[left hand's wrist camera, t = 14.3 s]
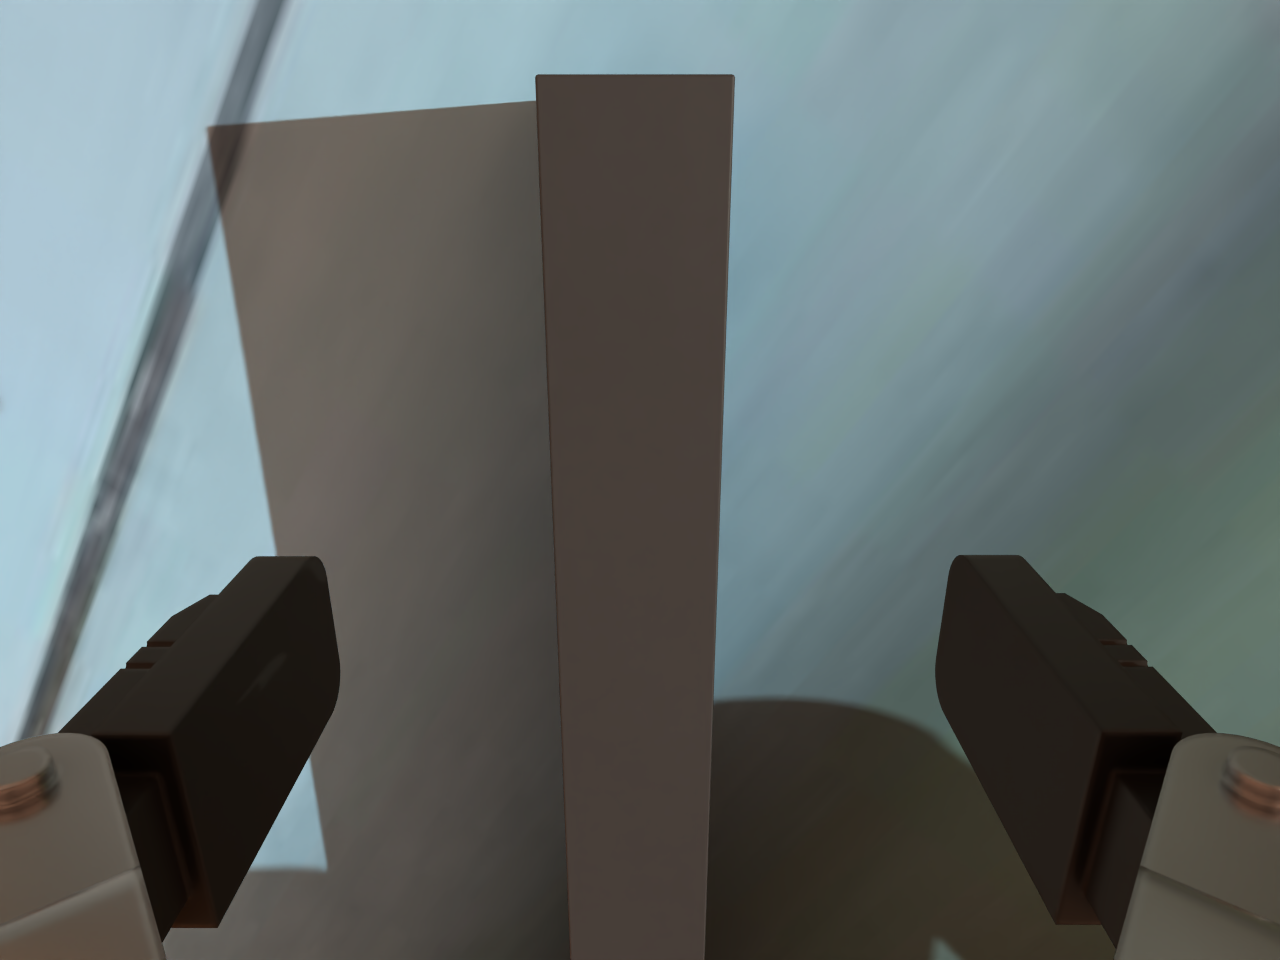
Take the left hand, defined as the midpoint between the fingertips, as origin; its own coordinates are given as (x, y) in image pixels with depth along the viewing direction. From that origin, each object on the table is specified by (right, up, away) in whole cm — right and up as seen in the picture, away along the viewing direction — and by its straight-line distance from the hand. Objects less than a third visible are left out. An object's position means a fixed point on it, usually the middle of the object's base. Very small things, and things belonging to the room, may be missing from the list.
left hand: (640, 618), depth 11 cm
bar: (0, -15, +27) cm, 31 cm away
